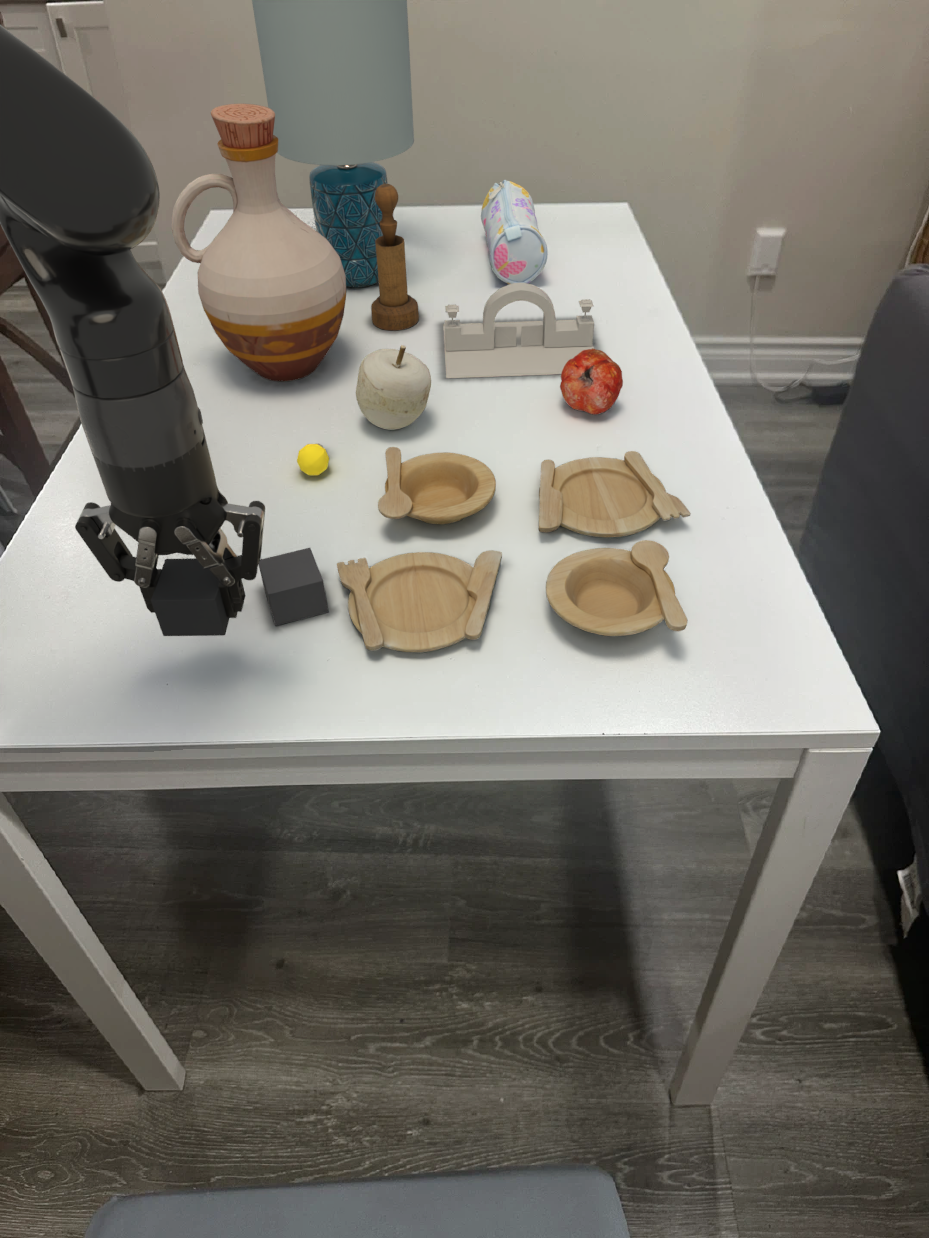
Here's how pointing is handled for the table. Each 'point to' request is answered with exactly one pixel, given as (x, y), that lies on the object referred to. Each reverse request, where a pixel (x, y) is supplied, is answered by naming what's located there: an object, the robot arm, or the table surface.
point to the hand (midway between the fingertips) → (199, 610)
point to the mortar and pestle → (391, 270)
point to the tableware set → (460, 594)
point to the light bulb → (313, 459)
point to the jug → (263, 259)
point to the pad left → (188, 600)
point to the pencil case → (513, 234)
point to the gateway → (515, 338)
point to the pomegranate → (591, 381)
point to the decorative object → (392, 388)
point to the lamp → (340, 109)
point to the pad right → (293, 586)
